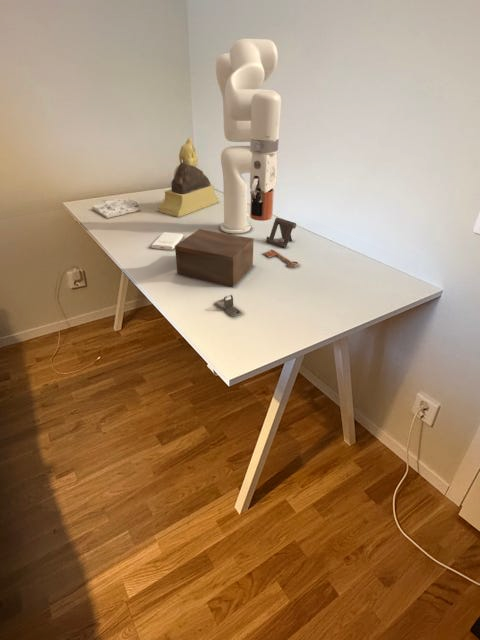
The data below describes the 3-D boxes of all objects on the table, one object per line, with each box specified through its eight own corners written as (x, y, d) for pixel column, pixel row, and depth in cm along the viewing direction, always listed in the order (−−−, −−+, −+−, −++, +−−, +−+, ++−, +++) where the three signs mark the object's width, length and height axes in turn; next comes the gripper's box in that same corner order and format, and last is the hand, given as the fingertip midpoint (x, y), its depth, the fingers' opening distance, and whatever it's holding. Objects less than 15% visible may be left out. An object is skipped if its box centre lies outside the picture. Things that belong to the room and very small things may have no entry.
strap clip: (215, 304, 110) (214, 291, 107) (224, 300, 111) (223, 288, 109) (232, 317, 104) (232, 304, 102) (241, 313, 106) (241, 300, 103)
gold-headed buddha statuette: (198, 197, 196) (195, 132, 179) (218, 202, 190) (216, 135, 173) (158, 211, 177) (150, 140, 160) (178, 217, 171) (172, 143, 154)
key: (262, 254, 139) (286, 270, 128) (262, 251, 139) (286, 267, 128) (276, 250, 141) (300, 265, 131) (276, 247, 141) (300, 263, 130)
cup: (254, 212, 117) (255, 185, 113) (275, 215, 115) (276, 188, 111) (246, 218, 112) (247, 191, 108) (267, 222, 110) (269, 194, 106)
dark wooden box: (200, 255, 137) (199, 228, 131) (252, 266, 130) (253, 238, 125) (177, 274, 125) (174, 245, 119) (233, 287, 118) (233, 257, 113)
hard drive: (183, 237, 151) (172, 250, 141) (163, 236, 152) (151, 248, 142) (183, 233, 150) (172, 246, 140) (163, 232, 151) (151, 244, 141)
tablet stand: (265, 242, 148) (266, 221, 143) (278, 236, 153) (279, 216, 148) (283, 248, 143) (285, 226, 138) (296, 242, 148) (298, 221, 143)
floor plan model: (120, 197, 194) (119, 193, 193) (145, 209, 178) (144, 205, 177) (84, 204, 184) (83, 200, 183) (107, 218, 168) (106, 213, 167)
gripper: (266, 153, 95) (263, 223, 105) (287, 142, 108) (282, 205, 118) (238, 150, 97) (237, 219, 107) (262, 139, 111) (259, 201, 121)
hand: (261, 211), depth 113 cm, fingers closed on cup, 6 cm apart
